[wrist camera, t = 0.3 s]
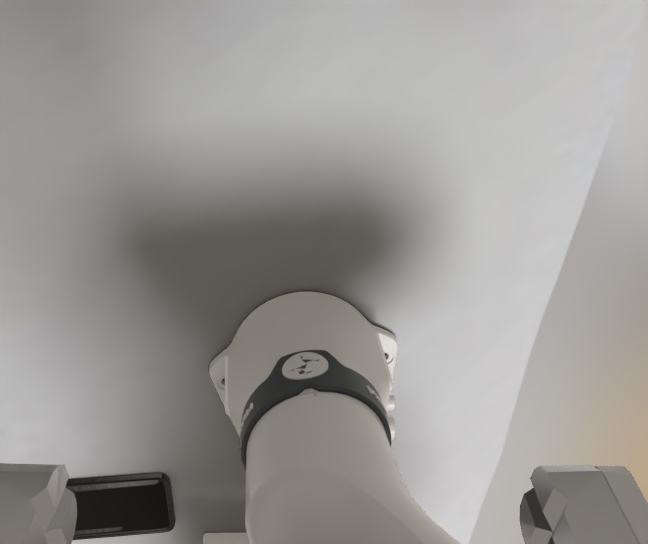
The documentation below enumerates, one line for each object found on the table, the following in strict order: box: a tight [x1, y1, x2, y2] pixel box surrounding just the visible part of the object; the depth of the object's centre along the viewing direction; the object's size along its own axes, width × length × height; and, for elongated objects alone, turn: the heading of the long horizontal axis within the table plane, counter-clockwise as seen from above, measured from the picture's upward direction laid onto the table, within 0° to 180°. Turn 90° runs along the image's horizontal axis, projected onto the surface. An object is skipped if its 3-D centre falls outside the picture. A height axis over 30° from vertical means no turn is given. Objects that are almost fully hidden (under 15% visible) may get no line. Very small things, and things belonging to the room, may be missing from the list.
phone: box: [65, 473, 175, 540], centre depth 63 cm, size 8×1×15 cm
